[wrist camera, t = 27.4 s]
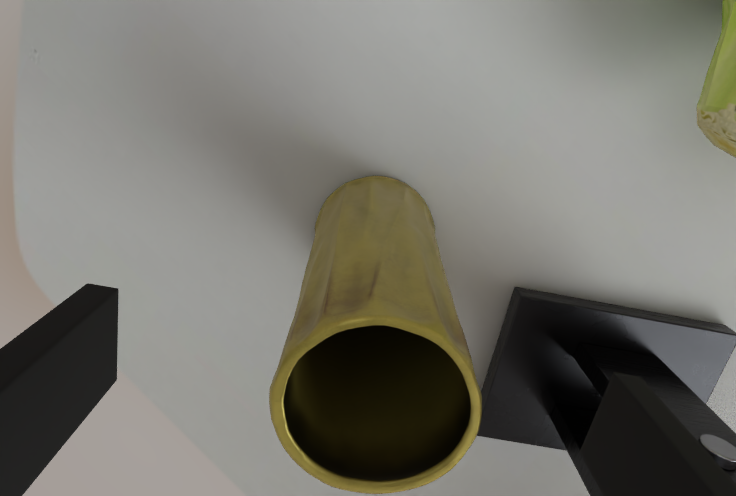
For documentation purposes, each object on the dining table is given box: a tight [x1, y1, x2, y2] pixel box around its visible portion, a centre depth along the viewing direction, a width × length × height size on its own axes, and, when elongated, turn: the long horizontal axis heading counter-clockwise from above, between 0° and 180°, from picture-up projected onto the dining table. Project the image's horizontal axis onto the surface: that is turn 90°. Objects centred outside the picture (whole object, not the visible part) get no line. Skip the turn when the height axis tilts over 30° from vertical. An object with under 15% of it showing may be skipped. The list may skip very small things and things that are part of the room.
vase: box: [269, 176, 482, 494], centre depth 18 cm, size 6×6×14 cm
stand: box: [477, 287, 736, 496], centre depth 23 cm, size 12×9×11 cm
